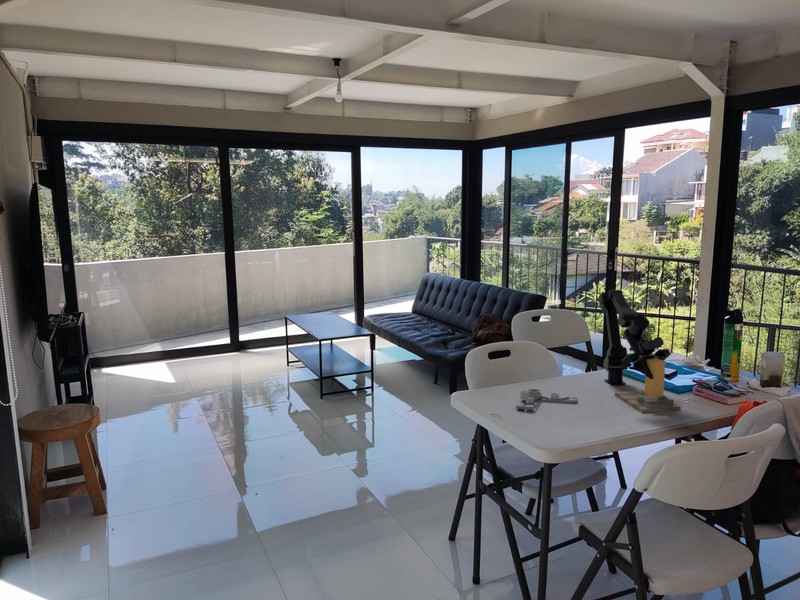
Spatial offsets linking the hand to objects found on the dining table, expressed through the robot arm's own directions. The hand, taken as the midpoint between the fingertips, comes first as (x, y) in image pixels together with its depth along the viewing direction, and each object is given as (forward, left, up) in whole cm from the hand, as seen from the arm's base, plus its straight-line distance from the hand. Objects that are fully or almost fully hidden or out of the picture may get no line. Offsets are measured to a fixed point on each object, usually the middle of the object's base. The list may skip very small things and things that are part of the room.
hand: (657, 377), depth 213 cm
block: (-1, 0, -7) cm, 7 cm away
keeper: (-6, 0, -11) cm, 13 cm away
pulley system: (-15, -38, -12) cm, 43 cm away
